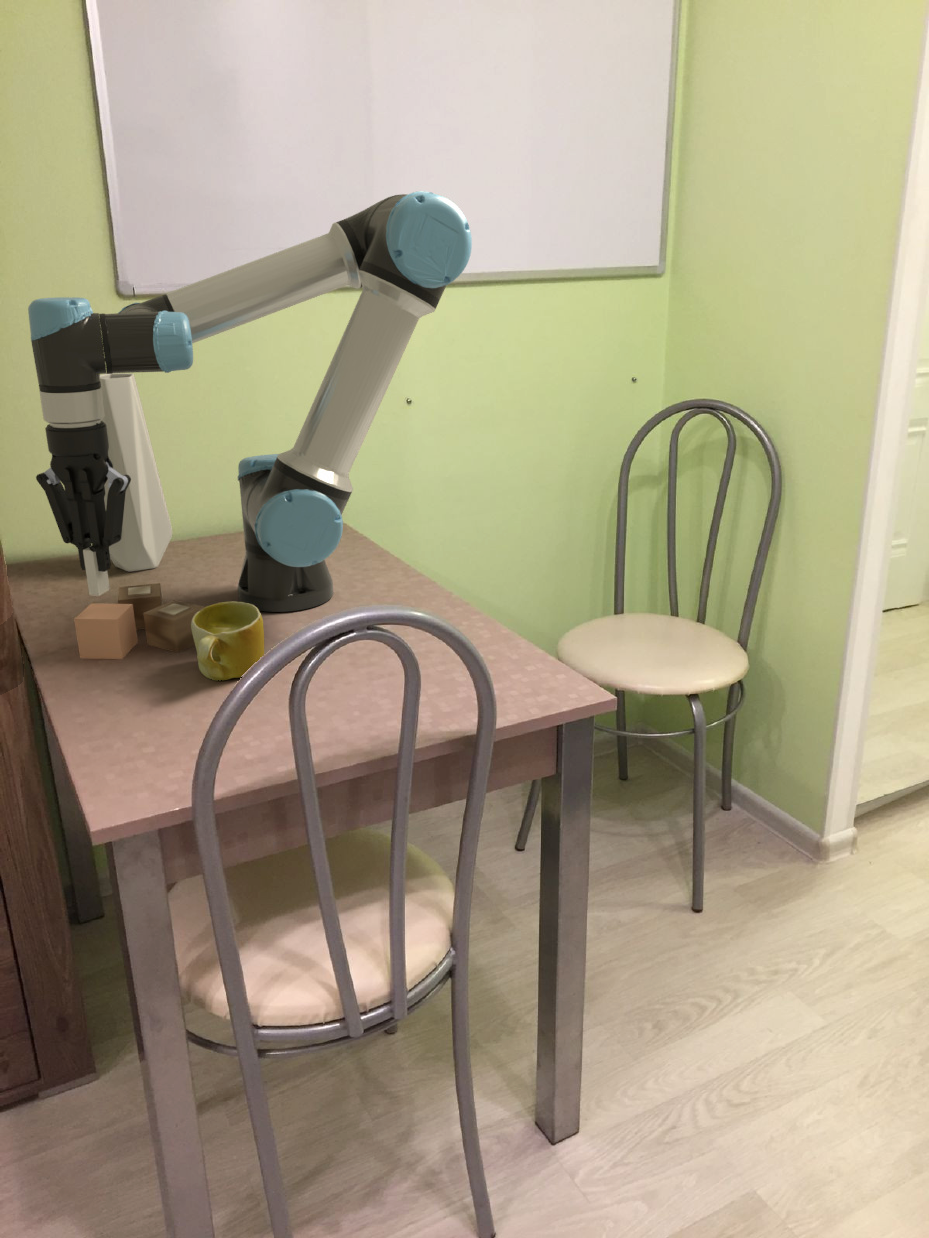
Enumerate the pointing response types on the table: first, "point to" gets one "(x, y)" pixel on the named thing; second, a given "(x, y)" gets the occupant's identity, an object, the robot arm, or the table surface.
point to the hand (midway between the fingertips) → (99, 592)
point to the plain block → (106, 631)
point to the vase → (134, 477)
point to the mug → (227, 639)
